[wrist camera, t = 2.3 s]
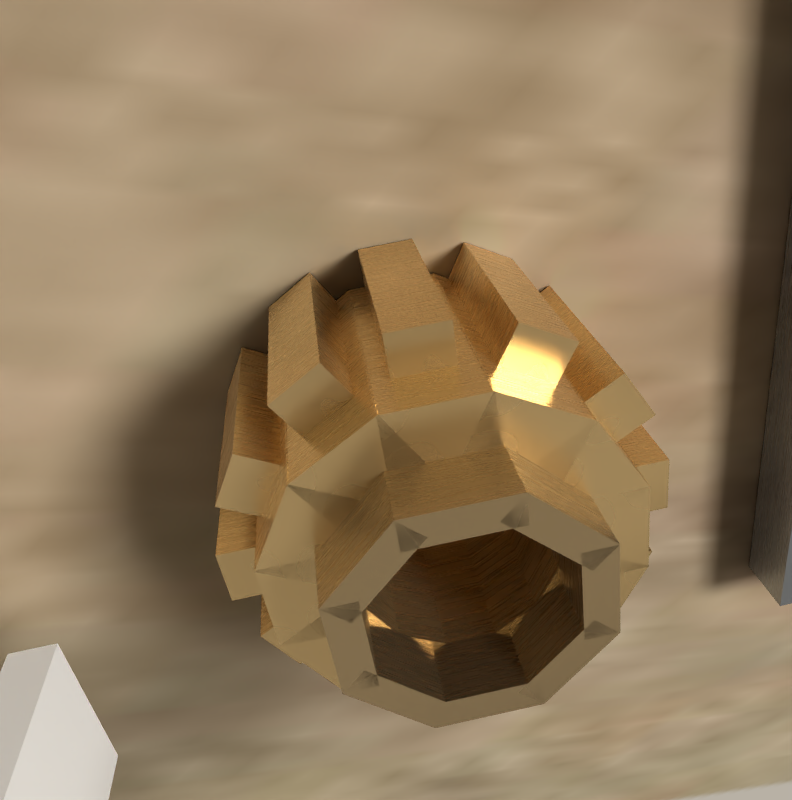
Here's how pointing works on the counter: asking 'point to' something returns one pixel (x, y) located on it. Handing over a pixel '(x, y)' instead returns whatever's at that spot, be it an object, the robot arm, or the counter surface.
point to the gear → (436, 486)
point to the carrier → (777, 459)
